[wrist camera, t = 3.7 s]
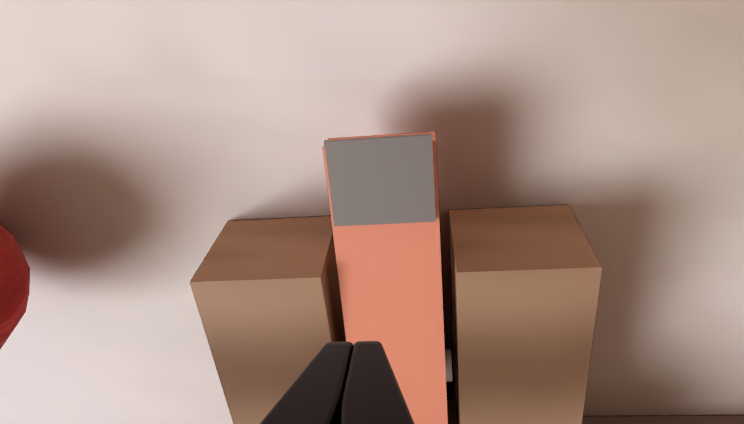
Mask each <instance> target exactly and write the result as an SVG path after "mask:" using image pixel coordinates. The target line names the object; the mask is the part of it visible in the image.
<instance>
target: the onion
mask: <svg viewBox="0 0 744 424" xmlns="http://www.w3.org/2000/svg"><path fill="white" fill-rule="evenodd" d="M29 282H30V268H29V266H28V264H27V261H26V259H25V257H24V255H23V253H22V251H21V249H20V247H19V245H18V243H17V241H16V239H15V238H14V236H13V235H11V234H10V233H9V232H8V231H7V230H6V229H5V228H4V227H2V226H1V225H0V349H1V347H2V346H3V344H4V343H5V342H6V340H7V339H8V337H9V336H10V334H11V333H12V331H13V330H14V328H15V327H16V325H17V324H18V322H19V321H20V319H21V318H22V316H23V315H24V313H25V312H26V307H27V301H28V296H29Z"/></svg>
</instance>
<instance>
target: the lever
mask: <svg viewBox="0 0 744 424" xmlns="http://www.w3.org/2000/svg"><path fill="white" fill-rule="evenodd" d="M323 155H324V164H325V172H326V180H327V188H328V196H329V205H330V213H331V221H332V229H333V237H334V246H335V254H336V262H337V270H338V278H339V287H340V295H341V303H342V311H343V319H344V328H345V336H346V342H348V341H349V342H351V343H353V345H354V344H355V343H356V342H358V341H379V342H380V343H381V344H382V346H383V348H384V351H385V353H386V355H387V358H388V360H389V363H390V365H391V368H392V370H393V373H394V375H395V377H396V380H397V382H398V385H399V387H400V390H401V392H402V395H403V397H404V399H405V402H406V404H407V407H408V409H409V412H410V414H411V416H412V419H413V421H414V424H448V417H447V392H446V382H452V360H451V349H445V344H444V320H443V296H442V272H441V248H440V224H439V199H438V175H437V151H436V136H435V132H421V133H405V134H389V135H374V136H358V137H342V138H328V140H325V142H324V146H323Z"/></svg>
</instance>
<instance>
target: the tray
mask: <svg viewBox="0 0 744 424" xmlns="http://www.w3.org/2000/svg"><path fill="white" fill-rule="evenodd" d="M582 424H744V415H727V416H598V417H583V419H582Z"/></svg>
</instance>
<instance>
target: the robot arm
mask: <svg viewBox="0 0 744 424" xmlns="http://www.w3.org/2000/svg"><path fill="white" fill-rule="evenodd" d="M260 424H414V421H413V419H412V416H411V414H410V412H409V409H408V407H407V404H406V402H405V399H404V397H403V395H402V392H401V390H400V387H399V385H398V382H397V380H396V377H395V375H394V373H393V370H392V368H391V365H390V363H389V360H388V358H387V355H386V353H385V351H384V348H383V346H382V344H381V343H380V342H379V341H358V342H356V343H355V344H354V345H353V343H351V342H349V341H348V342H328V343H326V344H325V345H324V346H323V347H322V348H321V350H320V351H319V352H318V353H317V355H316V356H315V357H314V358H313V359H312V361H311V362H310V363H309V364H308V365H307V367H306V368H305V369H304V370H303V372H302V373H301V374H300V375H299V376H298V378H297V379H296V380H295V381H294V382H293V384H292V385H291V386H290V387H289V389H288V390H287V391H286V392H285V393H284V395H283V396H282V397H281V398H280V399H279V401H278V402H277V403H276V404H275V406H274V407H273V408H272V409H271V410H270V412H269V413H268V414H267V415H266V416H265V418H264V419H263V420H262V421H261V422H260Z"/></svg>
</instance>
